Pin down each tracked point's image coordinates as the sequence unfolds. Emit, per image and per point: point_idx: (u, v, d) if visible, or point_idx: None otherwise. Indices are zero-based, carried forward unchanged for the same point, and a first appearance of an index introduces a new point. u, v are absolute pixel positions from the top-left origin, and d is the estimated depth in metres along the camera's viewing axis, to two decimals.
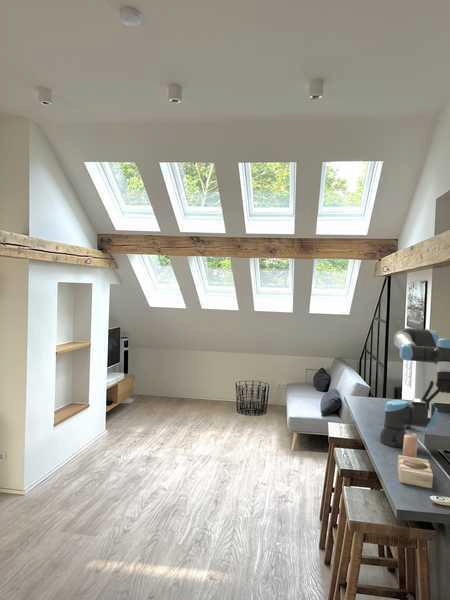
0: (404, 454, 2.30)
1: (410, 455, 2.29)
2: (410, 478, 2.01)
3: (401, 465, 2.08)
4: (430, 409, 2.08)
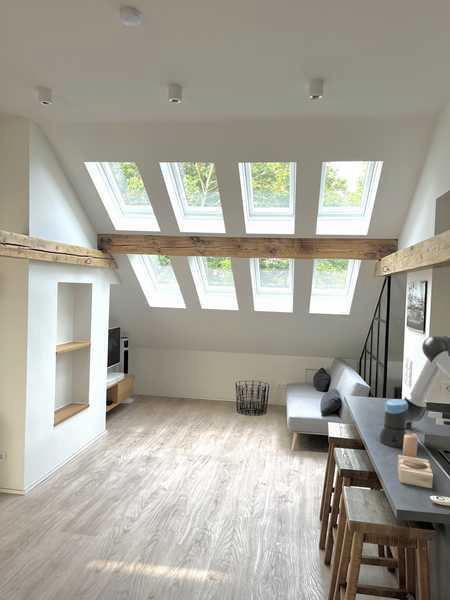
0: (404, 454, 2.30)
1: (410, 455, 2.29)
2: (410, 478, 2.01)
3: (401, 465, 2.08)
4: None
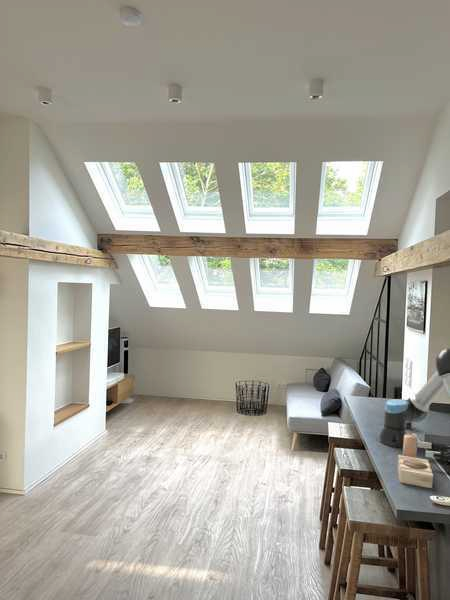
0: (404, 454, 2.30)
1: (410, 455, 2.29)
2: (410, 478, 2.01)
3: (401, 465, 2.08)
4: (433, 457, 2.23)
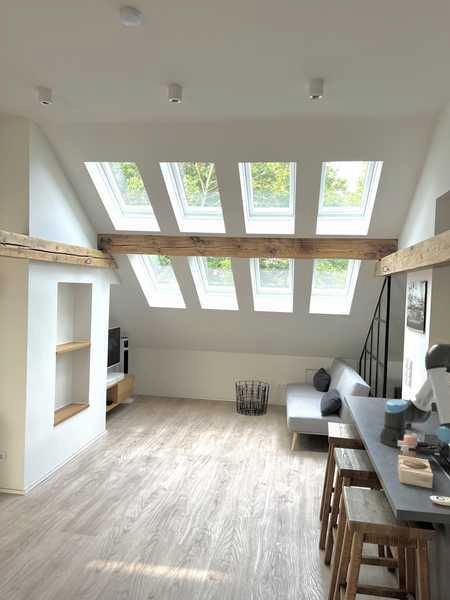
0: (404, 454, 2.30)
1: (410, 455, 2.29)
2: (410, 478, 2.01)
3: (401, 465, 2.08)
4: None
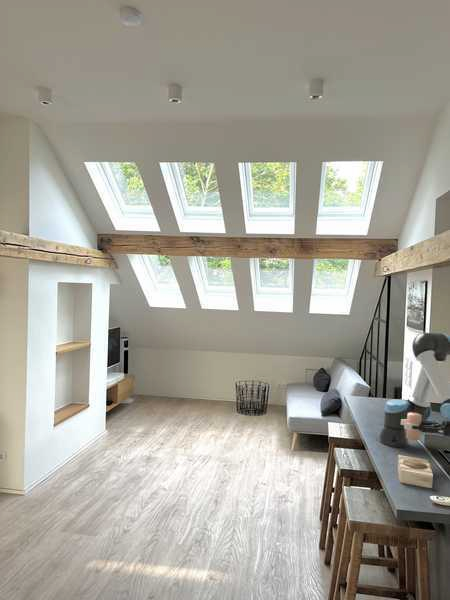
0: (408, 432, 2.28)
1: (414, 433, 2.26)
2: (410, 478, 2.01)
3: (401, 465, 2.08)
4: None
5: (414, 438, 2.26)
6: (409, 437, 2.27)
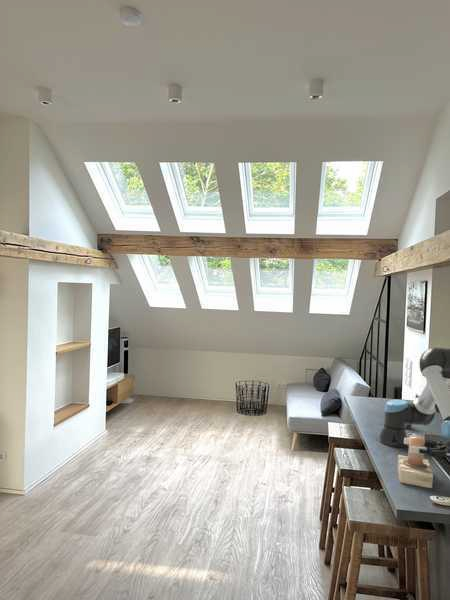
0: (410, 457, 2.09)
1: (416, 458, 2.07)
2: (410, 478, 2.01)
3: (401, 465, 2.08)
4: None
5: (417, 464, 2.07)
6: (411, 463, 2.08)
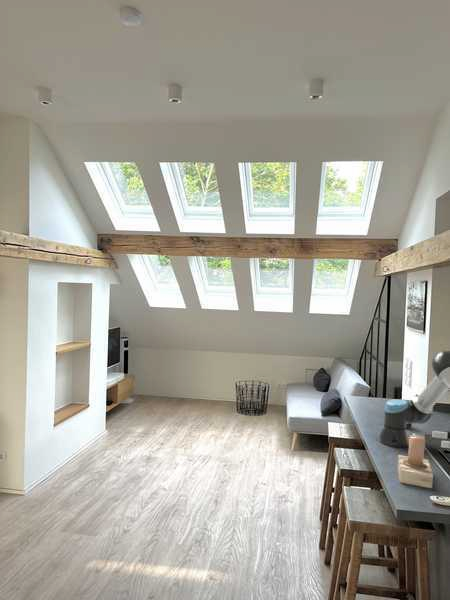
0: (410, 457, 2.09)
1: (416, 458, 2.07)
2: (410, 478, 2.01)
3: (401, 465, 2.08)
4: (449, 447, 2.04)
5: (417, 464, 2.07)
6: (411, 463, 2.08)
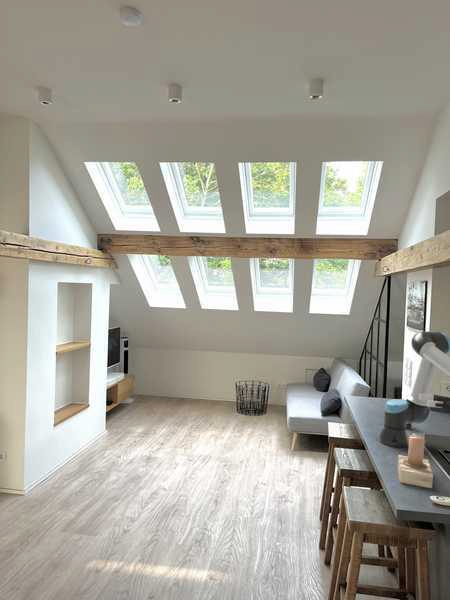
0: (410, 457, 2.09)
1: (416, 458, 2.07)
2: (410, 478, 2.01)
3: (401, 465, 2.08)
4: None
5: (417, 464, 2.07)
6: (411, 463, 2.08)
